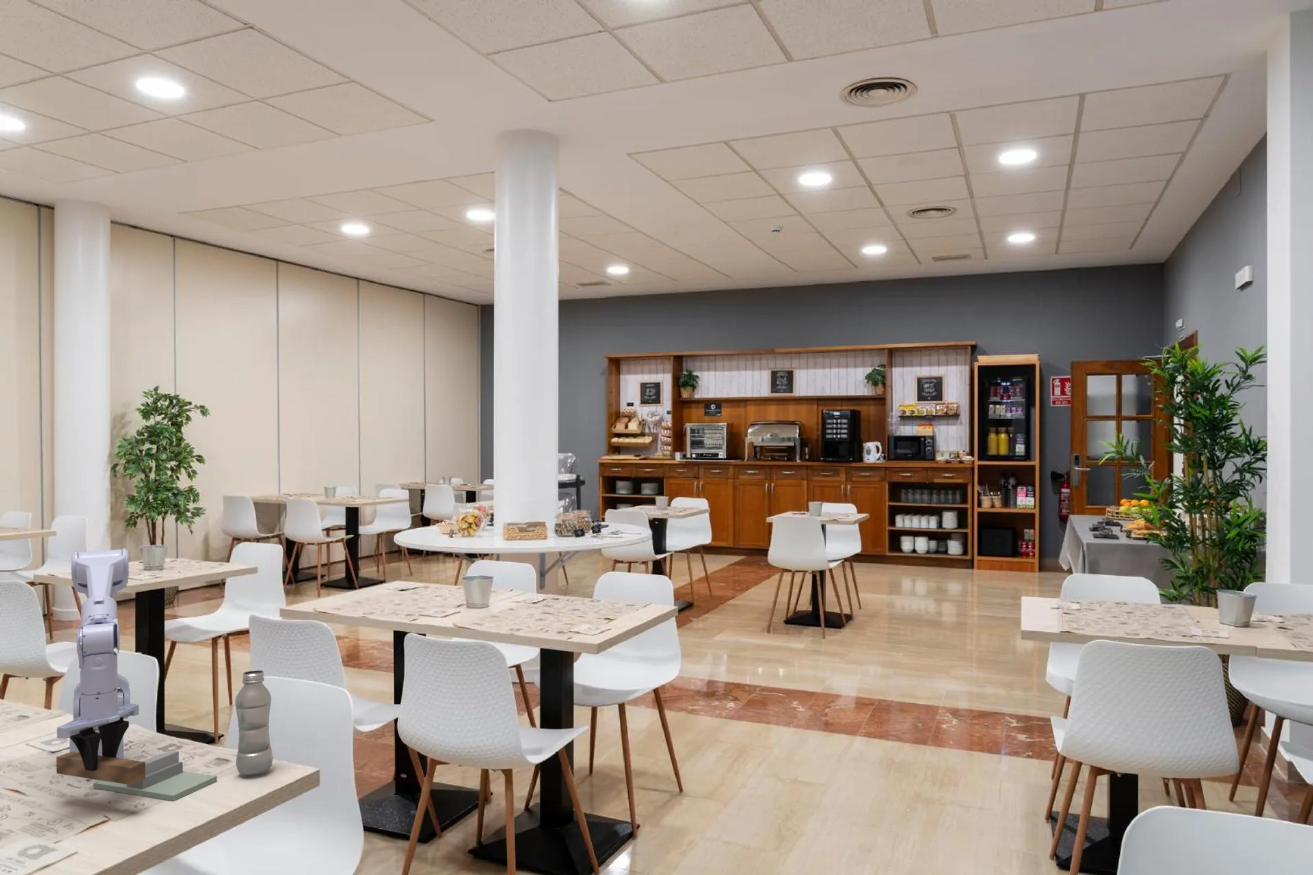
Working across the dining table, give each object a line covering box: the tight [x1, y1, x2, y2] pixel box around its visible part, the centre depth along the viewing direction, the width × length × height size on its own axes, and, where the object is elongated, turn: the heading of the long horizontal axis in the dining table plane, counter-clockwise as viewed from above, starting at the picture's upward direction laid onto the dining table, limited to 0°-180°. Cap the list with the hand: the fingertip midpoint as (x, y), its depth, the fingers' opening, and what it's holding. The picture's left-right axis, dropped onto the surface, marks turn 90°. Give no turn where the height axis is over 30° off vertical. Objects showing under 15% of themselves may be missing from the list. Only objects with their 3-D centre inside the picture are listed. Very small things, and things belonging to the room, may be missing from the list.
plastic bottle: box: [234, 669, 274, 777], centre depth 178 cm, size 6×7×20 cm
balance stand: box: [92, 750, 218, 802], centre depth 173 cm, size 20×10×5 cm, turn 70°
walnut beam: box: [55, 751, 145, 785], centre depth 162 cm, size 18×3×3 cm, turn 70°
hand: (100, 766), depth 162 cm, fingers closed on walnut beam, 3 cm apart
